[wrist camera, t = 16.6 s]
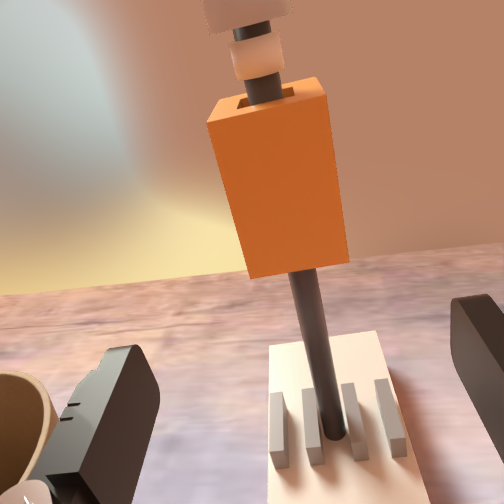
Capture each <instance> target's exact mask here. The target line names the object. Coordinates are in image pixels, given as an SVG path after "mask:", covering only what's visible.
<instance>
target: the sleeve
mask: <svg viewBox="0 0 504 504" xmlns="http://www.w3.org/2000/svg"><path fill="white" fill-rule="evenodd" d="M282 91H283V96H284V98H283V99H279V100H275V101H270V102H266V103H262V104H258V105H253V106H250V105H249V100H248V96H247V93H245V94H241V95H237V96H233V97H228V98H224V99H220V100H219V101H218V103H217V105H216V106H215V108H214V110H213V112H212V114H211V115H210V117H209V119H208V121H207V122H206V124H207V127H208V131H209V134H210V138H211V142H212V145H213V148H214V152H215V155H216V159H217V163H218V166H219V170H220V173H221V177H222V180H223V184H224V187H225V191H226V195H227V198H228V202H229V205H230V209H231V212H232V216H233V219H234V223H235V226H236V230H237V233H238V237H239V240H240V244H241V248H242V251H243V255H244V258H245V262H246V265H247V269H248V273H249V276H250V279H254V278H260V277H266V276H272V275H278V274H283V273H289V272H295V271H301V270H307V269H313V268H319V267H324V266H330V265H336V264H342V263H348V262H349V255H348V248H347V241H346V234H345V226H344V219H343V212H342V204H341V197H340V190H339V183H338V176H337V168H336V161H335V154H334V147H333V140H332V132H331V125H330V119H329V111H328V104H327V96H326V93H325V92H324V90H323V88H322V87H321V85H320V84H319V82H318V80H317V78H316V77H312V78H308V79H303V80H299V81H295V82H291V83H287V84H282Z"/></svg>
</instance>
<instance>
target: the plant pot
mask: <svg viewBox="0 0 504 504" xmlns="http://www.w3.org/2000/svg"><path fill="white" fill-rule="evenodd" d="M58 422H60V421H59V418H58V416H57V413H56V411H55V409H54V407H53V404H52V402H51V400H50V397H49V395H48V393H47V391H46V389H45V387H44V386H43V385H42V384H41V382H39V381H38V380H37V379H36V378H34V377H33V376H31V375H29V374H27V373H23V372H18V371H9V370H1V371H0V496H1V495H2V494H3V493H4V492H5V491H7V490H8V489H10V488H11V487H13V486H15V485H17V484H19V483H21V482H24V481H27V479H28V478H29V476H30V474H31V472H32V470H33V468H34V466H35V465H36V463H37V461H38V459H39V457H40V455H41V453H42V451H43V449H44V447H45V446H46V444H47V442H48V440H49V438H50V436H51V434H52V432H53V430H54V428H55V426H56V425H57V423H58Z"/></svg>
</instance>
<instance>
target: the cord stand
mask: <svg viewBox="0 0 504 504" xmlns="http://www.w3.org/2000/svg"><path fill="white" fill-rule="evenodd" d="M201 3H202V7H203V11H204V15H205V19H206V23H207V27H208V31H209V34H210V35H212V34H217V33H221V32H225V31H229V30H233V34H234V39H235V41H233V42H230V43H229V48H230V52H231V56H232V61H233V65H234V69H235V73H236V78H237V80H244V82H245V87H246V91H247V96H248V100H249V105H250V106H253V105H258V104H262V103H266V102H270V101H275V100H279V99H283V98H284V96H283V91H282V85H281V80H280V75H279V71H281V70H283V69H284V68H285V64H284V59H283V53H282V47H281V42H280V37H279V31H278V30H276V31H271V27H270V21H269V20H271V19H274V18H278V17H281V16H285V15H288V14H291V13H292V6H291V0H201ZM288 276H289V280H290V285H291V289H292V294H293V298H294V302H295V307H296V311H297V316H298V320H299V324H300V329H301V333H302V338H303V341H299V342H292V343H285V344H278V345H271V346H269V427H268V504H430V501H429V498H428V495H427V492H426V489H425V485H424V482H423V479H422V476H421V473H420V470H419V466H418V463H417V460H416V457H415V454H414V451H413V447H412V444H411V441H410V438H409V435H408V432H407V428H406V425H405V422H404V419H403V416H402V413H401V409H400V406H399V403H398V400H397V397H396V394H395V391H394V387H393V384H392V381H391V378H390V375H389V372H388V368H387V365H386V362H385V359H384V356H383V353H382V349H381V346H380V343H379V340H378V337H377V334H376V330H375V331H368V332H361V333H354V334H347V335H340V336H334V337H328V331H327V326H326V321H325V315H324V310H323V305H322V299H321V294H320V289H319V283H318V278H317V273H316V268H313V269H307V270H301V271H295V272H289V273H288Z"/></svg>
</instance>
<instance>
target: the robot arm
mask: <svg viewBox="0 0 504 504" xmlns="http://www.w3.org/2000/svg"><path fill="white" fill-rule="evenodd" d="M450 348H451V355H452V359H453V363H454V366H455V368H456V371H457V373H458V375H459V377H460V379H461V381H462V383H463V385H464V387H465V389H466V391H467V393H468V395H469V397H470V399H471V400H472V402H473V404H474V406H475V408H476V410H477V412H478V414H479V416H480V418H481V420H482V422H483V424H484V426H485V428H486V430H487V432H488V434H489V436H490V438H491V440H492V442H493V444H494V446H495V447H496V449H497V451H498V453H499V455H500V457H501V459H502V461H503V463H504V314H503V313H502V311H501V310H500V309H499V307H498V306H497V305H496V303H495V302H494V301H493V299H492V298H491V297H490V296H489V295H488V294H480V295H473V296H467V297H460V298H453V299H452V301H451V326H450ZM159 405H160V391H159V386H158V384H157V381H156V379H155V377H154V375H153V373H152V371H151V368H150V366H149V364H148V362H147V360H146V358H145V356H144V353H143V351H142V349H141V348H140V347H139V346H138V345H129V346H122V347H115V348H110V349H108V350H107V351H106V352H105V354H104V356H103V358H102V360H101V362H100V364H99V366H98V368H97V370H91V372H90V373H89V374H88V375H87V376H86V377H85V378H84V379H83V380H82V381H81V382H80V383H79V384H78V385H77V386H76V388H75V390H74V392H73V394H72V396H71V398H70V400H69V402H68V407H65V409H64V411H63V413H62V415H61V417H60V422H58V423H57V425H56V426H55V428H54V430H53V432H52V434H51V436H50V438H49V440H48V442H47V444H46V446H45V447H44V449H43V451H42V453H41V455H40V457H39V459H38V461H37V463H36V465H35V466H34V468H33V470H32V472H31V474H30V476H29V478H28V479H27V481H24V482H21V483H19V484H17V485H15V486H13V487H11V488H10V489H8V490H7V491H5V492H4V493H3V494H2V495H1V496H0V504H131V503H132V500H133V496H134V493H135V489H136V486H137V482H138V479H139V476H140V472H141V469H142V465H143V462H144V458H145V455H146V451H147V448H148V444H149V441H150V437H151V434H152V430H153V427H154V423H155V420H156V417H157V413H158V410H159Z"/></svg>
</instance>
